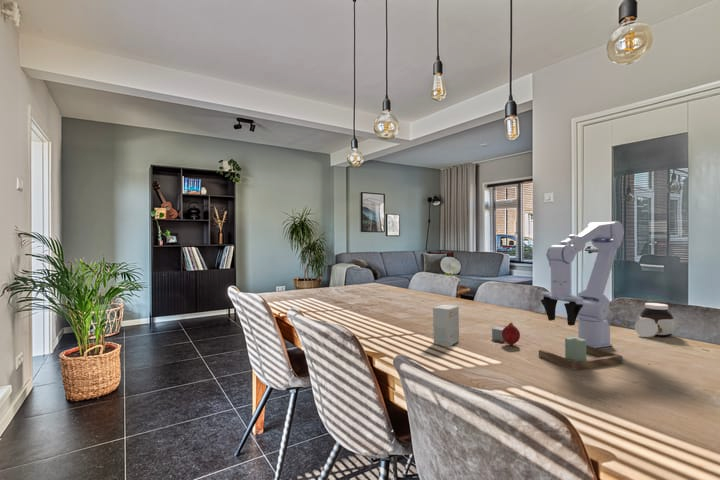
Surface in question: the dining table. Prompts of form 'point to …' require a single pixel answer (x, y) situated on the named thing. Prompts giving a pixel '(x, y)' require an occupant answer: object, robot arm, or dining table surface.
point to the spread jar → (655, 321)
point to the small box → (446, 324)
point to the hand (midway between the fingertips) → (561, 322)
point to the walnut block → (604, 359)
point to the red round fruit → (511, 334)
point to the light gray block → (497, 333)
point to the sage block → (575, 348)
